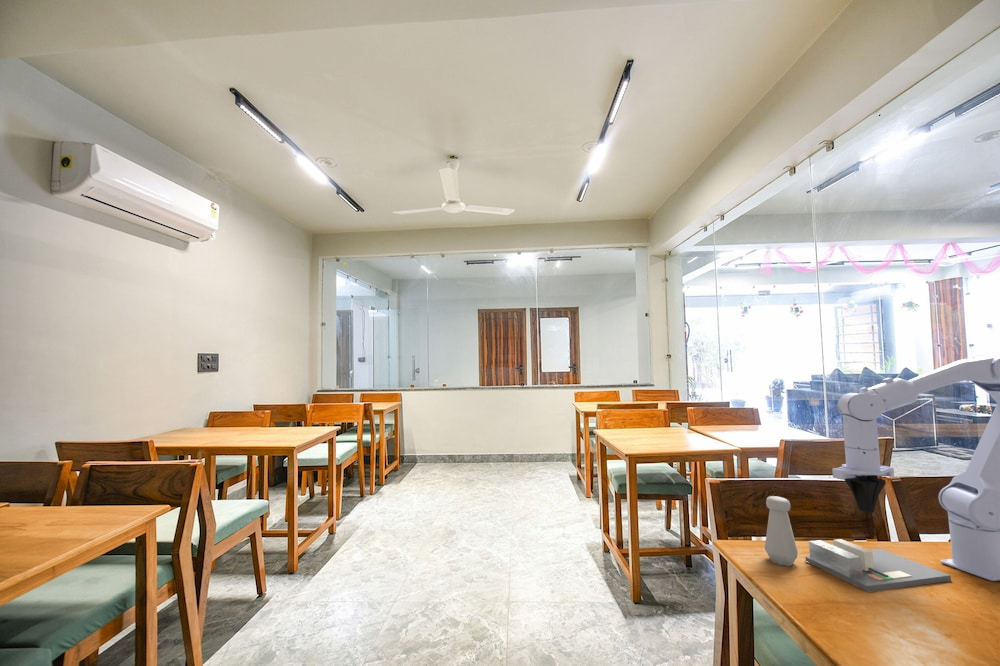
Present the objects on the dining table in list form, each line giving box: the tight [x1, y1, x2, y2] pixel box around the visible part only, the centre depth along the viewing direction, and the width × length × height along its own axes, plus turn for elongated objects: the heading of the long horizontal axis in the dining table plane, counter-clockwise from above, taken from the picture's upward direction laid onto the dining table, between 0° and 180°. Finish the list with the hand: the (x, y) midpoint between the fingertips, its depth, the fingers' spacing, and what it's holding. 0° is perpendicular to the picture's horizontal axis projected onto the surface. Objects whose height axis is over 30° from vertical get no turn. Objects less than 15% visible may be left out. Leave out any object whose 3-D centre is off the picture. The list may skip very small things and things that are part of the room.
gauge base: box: [805, 548, 952, 593], centre depth 81 cm, size 20×12×1 cm, turn 102°
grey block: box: [808, 539, 863, 578], centre depth 81 cm, size 3×8×4 cm, turn 12°
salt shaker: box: [764, 495, 798, 567], centre depth 86 cm, size 6×6×13 cm
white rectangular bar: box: [832, 538, 888, 577], centre depth 80 cm, size 2×9×4 cm, turn 12°
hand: (866, 511), depth 88 cm, fingers closed
